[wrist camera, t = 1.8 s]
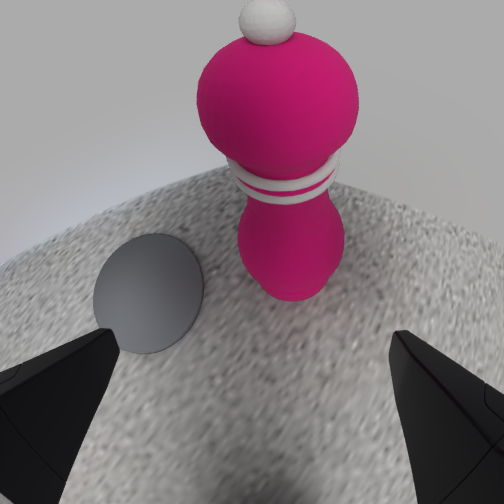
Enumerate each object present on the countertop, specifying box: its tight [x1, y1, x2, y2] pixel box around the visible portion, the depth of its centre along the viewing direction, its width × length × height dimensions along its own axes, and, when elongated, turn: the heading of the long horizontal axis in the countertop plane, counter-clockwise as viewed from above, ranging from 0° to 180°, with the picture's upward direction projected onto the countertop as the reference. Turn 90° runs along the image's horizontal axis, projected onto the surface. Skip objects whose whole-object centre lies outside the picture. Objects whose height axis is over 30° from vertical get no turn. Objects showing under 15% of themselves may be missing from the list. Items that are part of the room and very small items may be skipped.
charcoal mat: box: [93, 234, 204, 354], centre depth 25 cm, size 11×11×1 cm
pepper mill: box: [197, 0, 359, 301], centre depth 15 cm, size 7×7×20 cm
